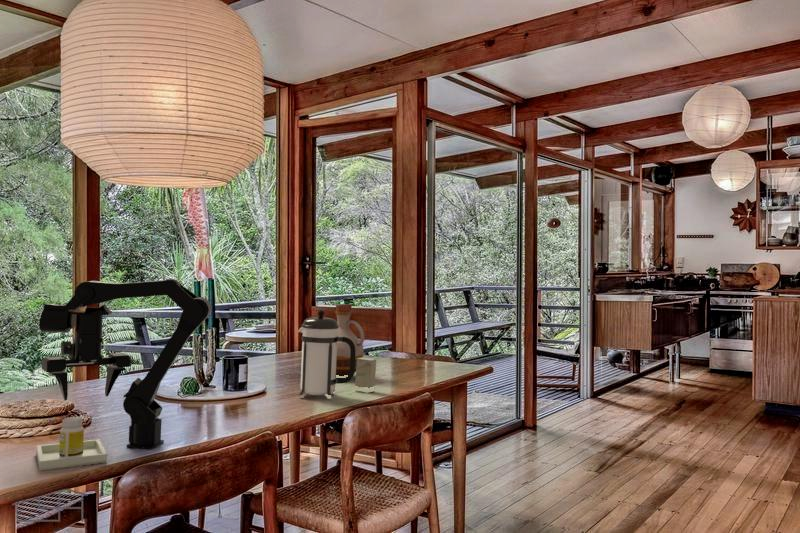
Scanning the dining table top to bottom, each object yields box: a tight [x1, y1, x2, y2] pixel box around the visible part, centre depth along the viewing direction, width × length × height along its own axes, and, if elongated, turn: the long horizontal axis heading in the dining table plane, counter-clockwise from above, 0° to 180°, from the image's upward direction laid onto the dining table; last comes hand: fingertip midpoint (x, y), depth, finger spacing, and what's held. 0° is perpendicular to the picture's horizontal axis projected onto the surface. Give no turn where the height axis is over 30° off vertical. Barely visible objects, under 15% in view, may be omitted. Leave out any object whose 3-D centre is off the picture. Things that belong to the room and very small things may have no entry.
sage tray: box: [35, 438, 108, 472], centre depth 143 cm, size 13×13×2 cm
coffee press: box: [297, 309, 356, 396], centre depth 222 cm, size 17×16×30 cm
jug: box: [335, 304, 365, 376], centre depth 260 cm, size 20×18×30 cm
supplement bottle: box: [59, 416, 85, 458], centre depth 143 cm, size 5×5×8 cm
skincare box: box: [354, 356, 377, 388], centre depth 233 cm, size 6×4×12 cm
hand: (86, 398), depth 154 cm, fingers open, 9 cm apart
